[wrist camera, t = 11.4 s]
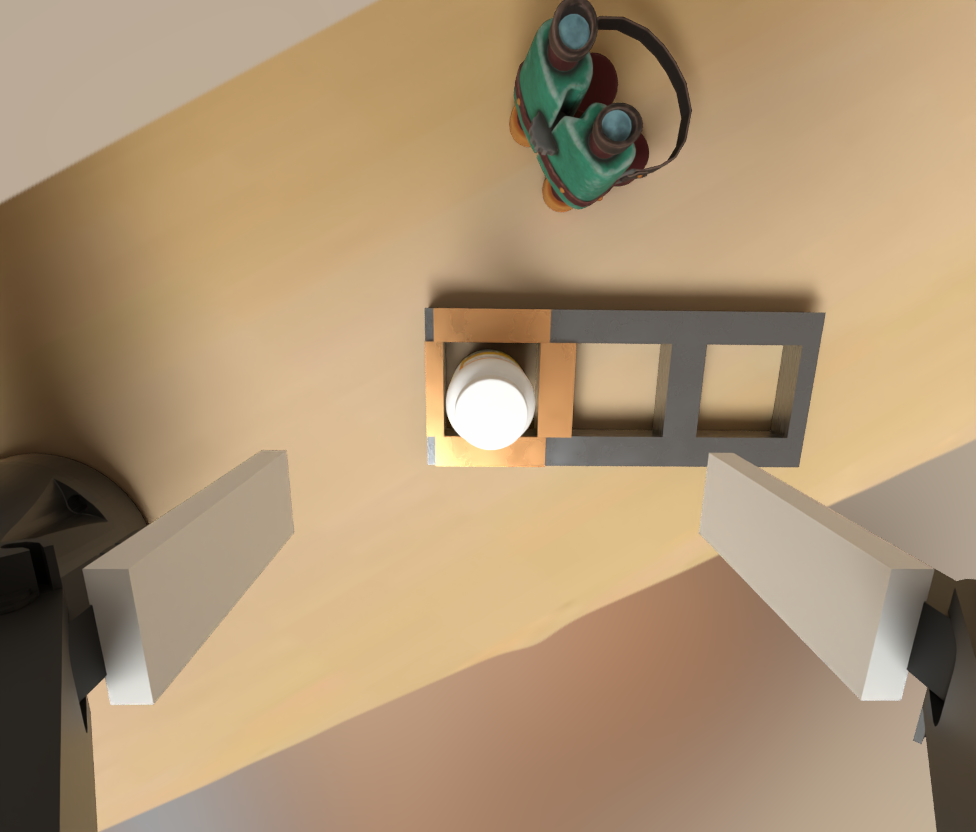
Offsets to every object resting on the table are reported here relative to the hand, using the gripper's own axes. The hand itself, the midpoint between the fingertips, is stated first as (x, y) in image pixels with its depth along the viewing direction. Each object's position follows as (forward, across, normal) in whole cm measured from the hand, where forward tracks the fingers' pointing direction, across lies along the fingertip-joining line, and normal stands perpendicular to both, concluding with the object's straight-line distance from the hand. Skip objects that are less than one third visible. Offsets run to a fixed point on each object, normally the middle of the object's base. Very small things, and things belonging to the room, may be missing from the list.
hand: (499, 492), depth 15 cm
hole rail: (+20, +9, 0) cm, 22 cm away
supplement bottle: (+20, 0, 0) cm, 21 cm away
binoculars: (+20, +6, +17) cm, 27 cm away
